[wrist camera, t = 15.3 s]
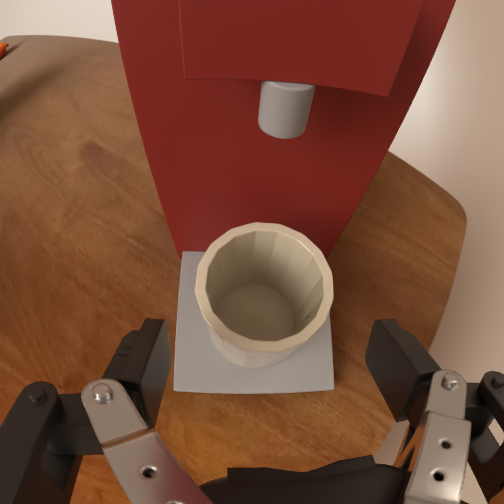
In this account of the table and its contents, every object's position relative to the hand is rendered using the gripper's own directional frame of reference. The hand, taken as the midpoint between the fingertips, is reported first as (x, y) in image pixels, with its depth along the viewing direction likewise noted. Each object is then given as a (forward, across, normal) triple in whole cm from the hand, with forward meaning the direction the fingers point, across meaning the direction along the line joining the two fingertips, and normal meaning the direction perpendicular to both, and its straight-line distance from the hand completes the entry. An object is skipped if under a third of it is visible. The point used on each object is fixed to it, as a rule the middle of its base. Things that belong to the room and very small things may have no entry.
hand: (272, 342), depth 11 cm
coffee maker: (+12, 0, +4) cm, 13 cm away
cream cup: (+9, 0, +5) cm, 10 cm away
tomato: (+56, +71, -40) cm, 99 cm away
